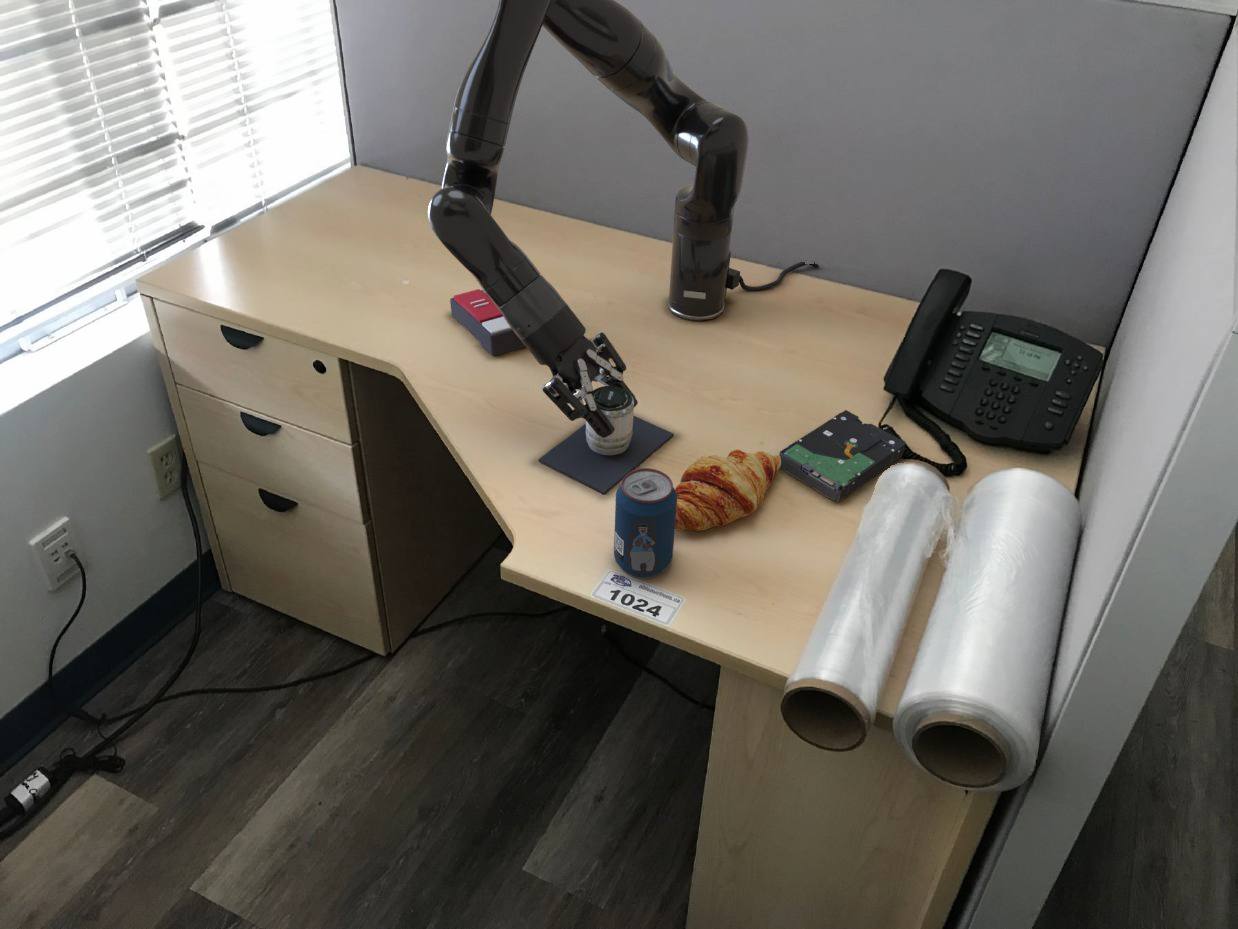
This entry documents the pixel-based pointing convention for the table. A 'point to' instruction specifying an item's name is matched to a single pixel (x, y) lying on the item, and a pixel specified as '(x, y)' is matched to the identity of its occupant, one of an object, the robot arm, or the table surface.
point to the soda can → (645, 523)
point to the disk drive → (841, 455)
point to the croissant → (723, 488)
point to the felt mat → (604, 456)
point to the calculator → (485, 322)
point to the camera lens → (612, 420)
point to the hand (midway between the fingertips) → (621, 420)
